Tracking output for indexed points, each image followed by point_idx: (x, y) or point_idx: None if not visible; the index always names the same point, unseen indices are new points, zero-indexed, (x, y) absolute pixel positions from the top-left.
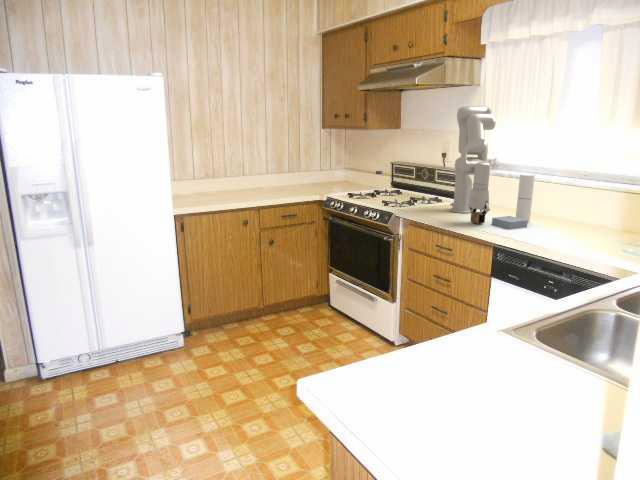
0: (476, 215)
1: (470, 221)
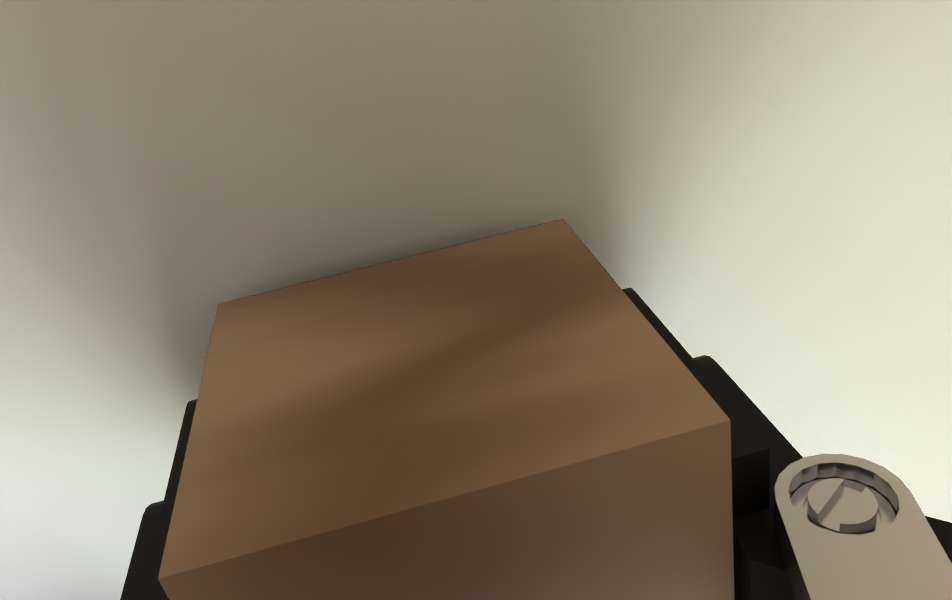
0: (287, 478)
1: (563, 223)
